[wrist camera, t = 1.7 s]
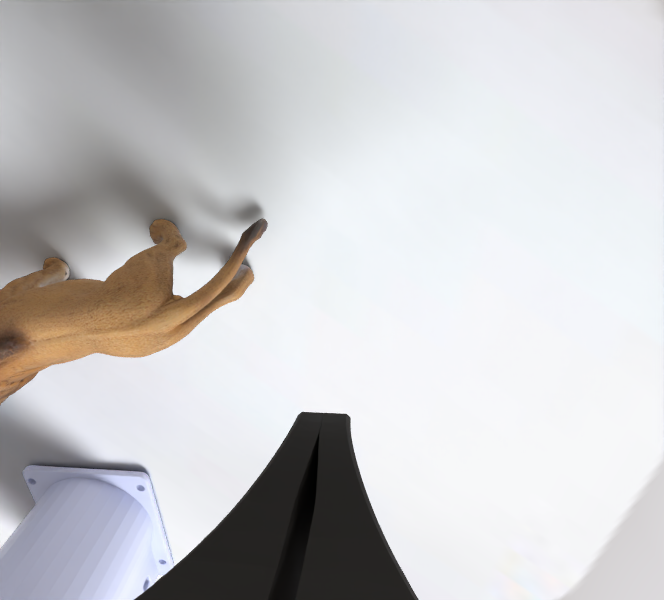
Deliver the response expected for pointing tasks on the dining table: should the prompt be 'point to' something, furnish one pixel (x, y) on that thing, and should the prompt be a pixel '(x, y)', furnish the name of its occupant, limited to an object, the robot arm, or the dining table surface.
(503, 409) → the dining table surface
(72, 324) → the lion figurine
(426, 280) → the dining table surface
